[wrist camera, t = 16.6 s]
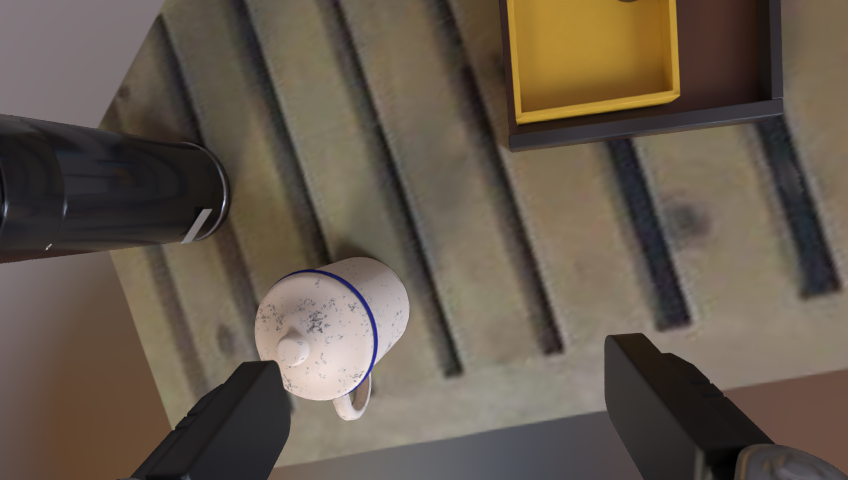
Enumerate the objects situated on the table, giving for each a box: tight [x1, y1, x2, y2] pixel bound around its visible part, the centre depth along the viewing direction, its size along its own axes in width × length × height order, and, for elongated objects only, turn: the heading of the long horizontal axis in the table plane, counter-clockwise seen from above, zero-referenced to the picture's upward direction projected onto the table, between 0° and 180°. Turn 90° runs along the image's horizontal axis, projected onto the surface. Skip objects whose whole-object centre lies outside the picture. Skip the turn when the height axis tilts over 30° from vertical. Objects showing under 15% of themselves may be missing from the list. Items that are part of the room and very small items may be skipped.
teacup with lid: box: [255, 257, 409, 420], centre depth 31 cm, size 12×9×12 cm
